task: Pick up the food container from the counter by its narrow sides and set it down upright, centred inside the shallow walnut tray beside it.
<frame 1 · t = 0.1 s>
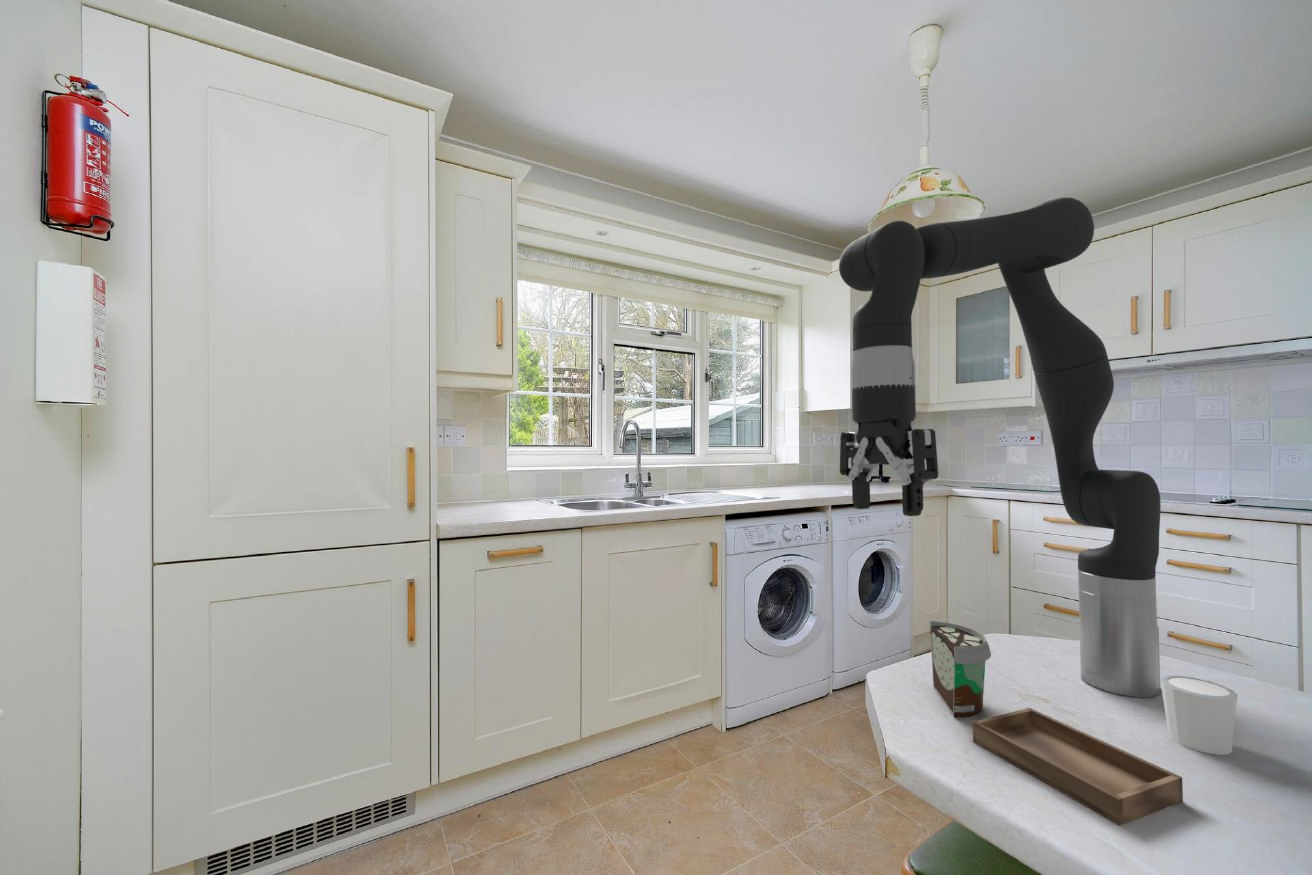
hand: (885, 511, 69), 29 cm above the table, tool pointing down, fingers open, 8 cm apart
walnut tray: (1068, 768, 63), on the table
food container: (966, 704, 79), on the table
white cup: (1199, 743, 68), on the table
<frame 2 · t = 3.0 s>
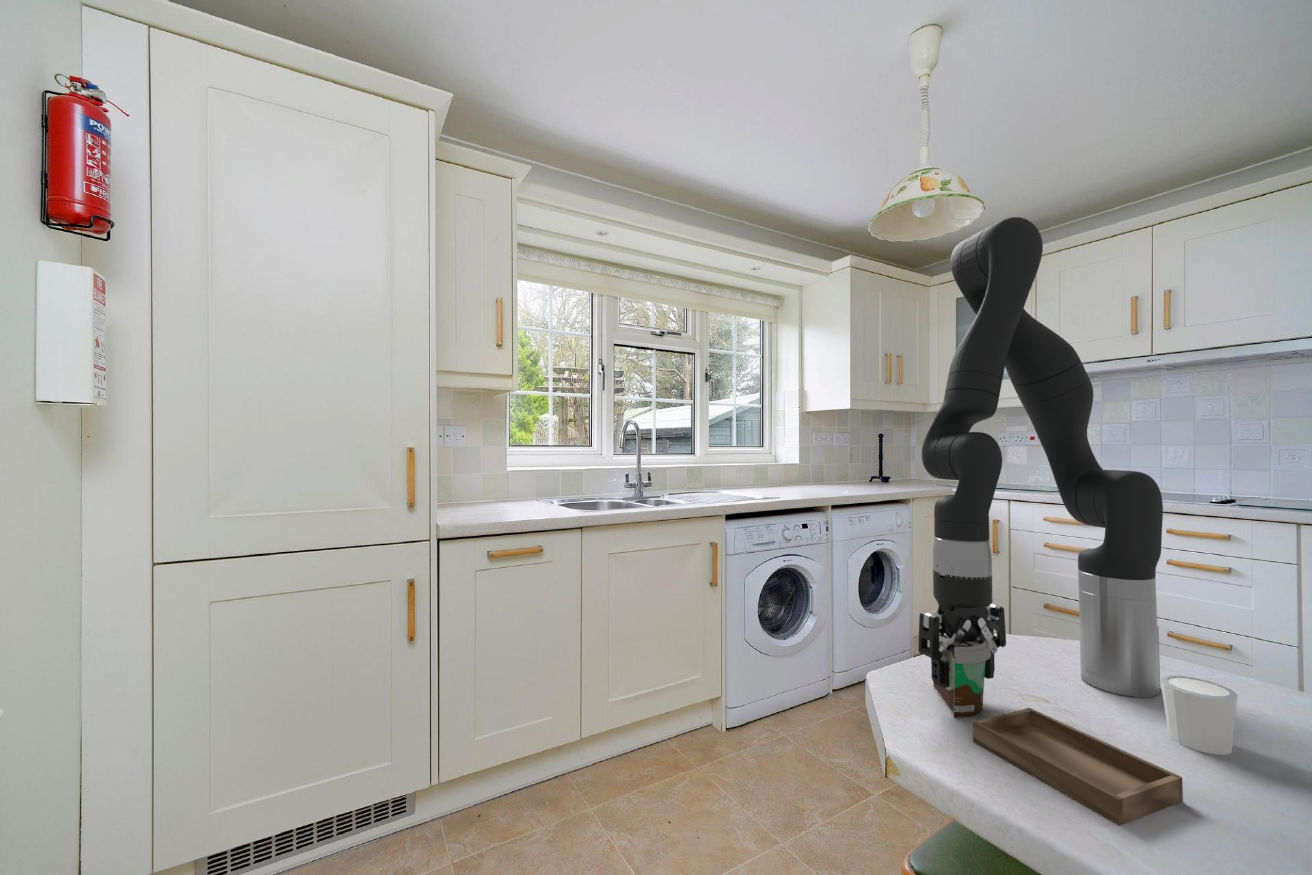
hand: (963, 681, 79), 3 cm above the table, tool pointing down, fingers open, 8 cm apart
food container: (966, 704, 79), on the table, touching gripper
everything else where it was.
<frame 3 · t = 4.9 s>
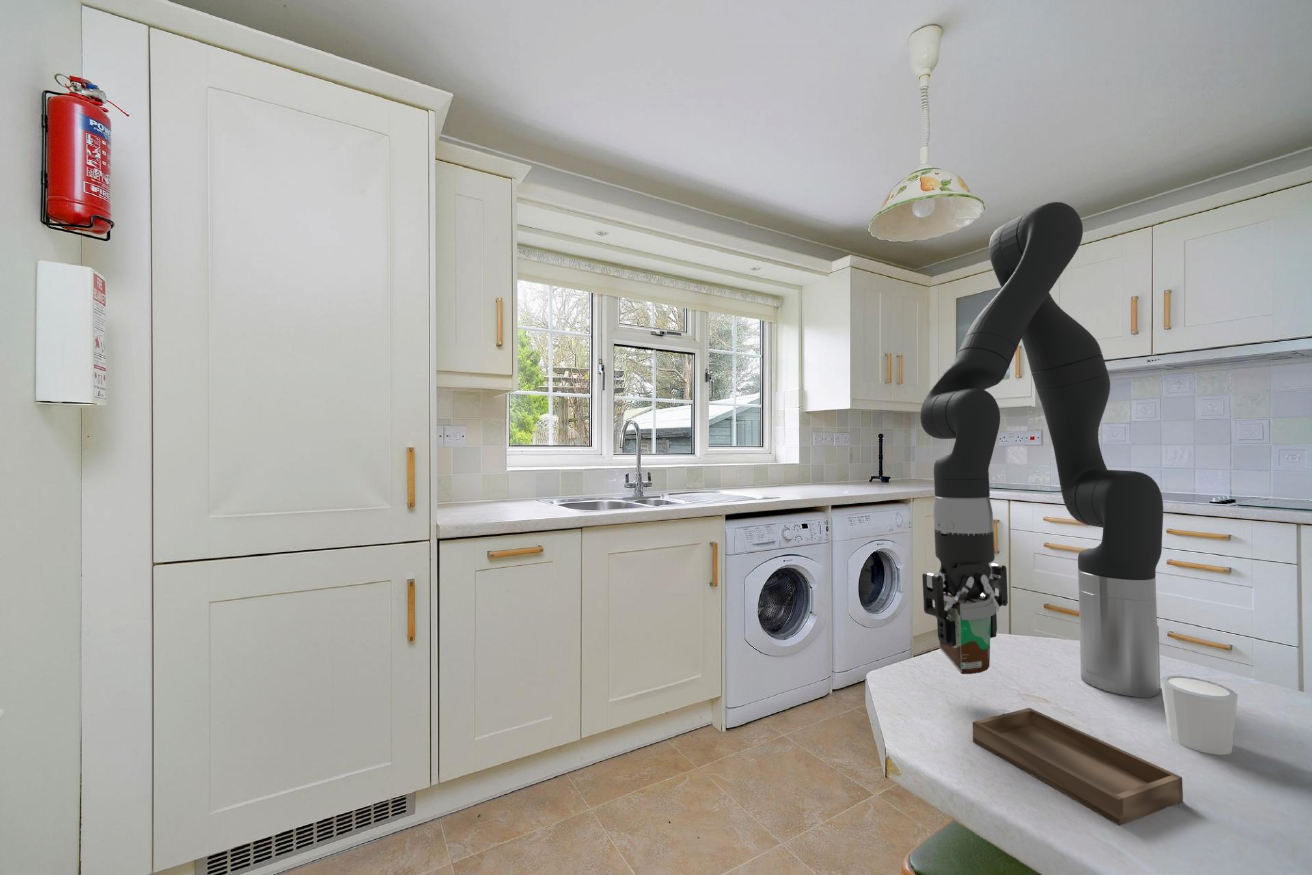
hand: (968, 640, 79), 9 cm above the table, tool pointing down, fingers closed on food container, 7 cm apart
food container: (972, 662, 79), point 6 cm above the table, touching gripper
everything else where it was.
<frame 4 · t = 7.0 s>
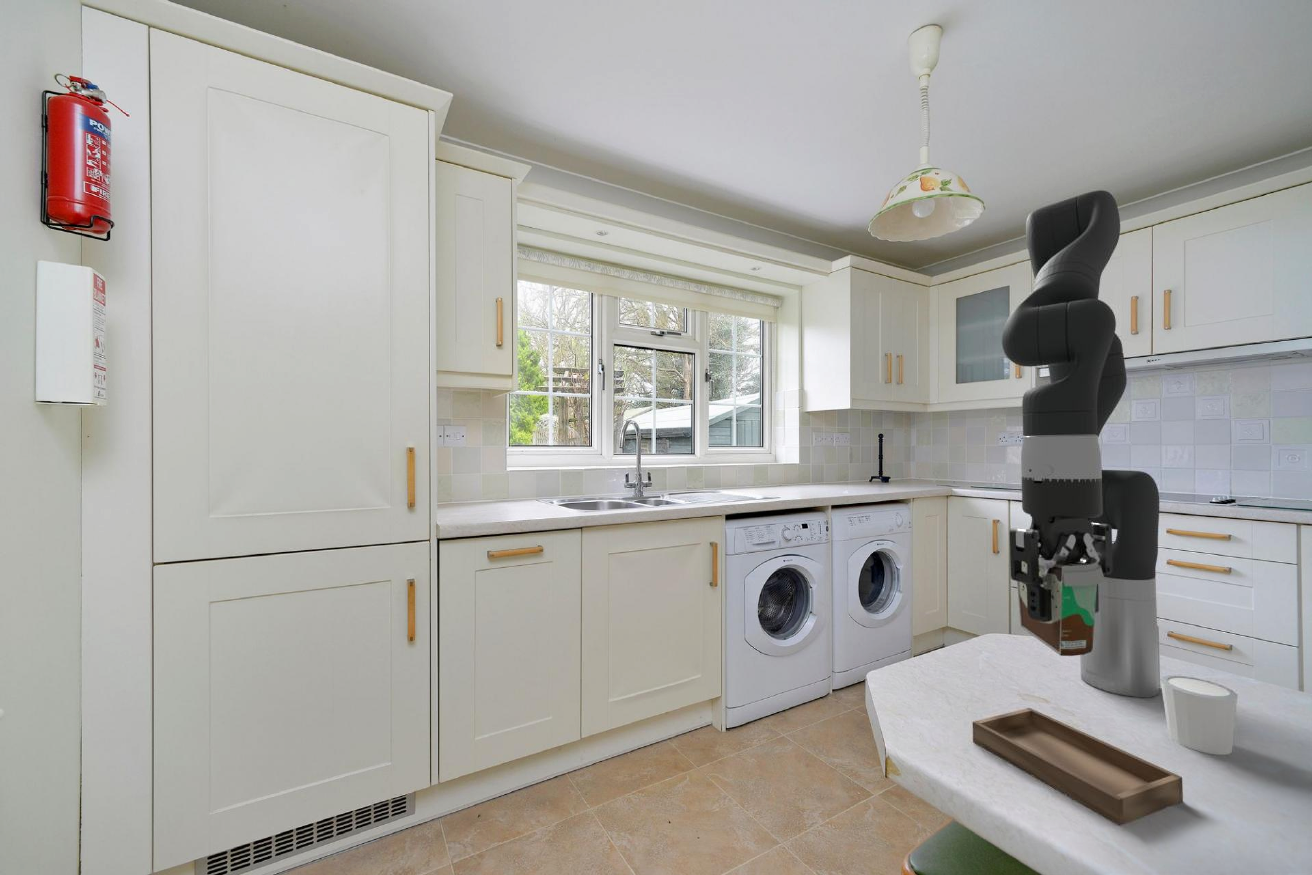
hand: (1063, 615, 63), 18 cm above the table, tool pointing down, fingers closed on food container, 7 cm apart
food container: (1068, 643, 63), point 14 cm above the table, touching gripper
everything else where it was.
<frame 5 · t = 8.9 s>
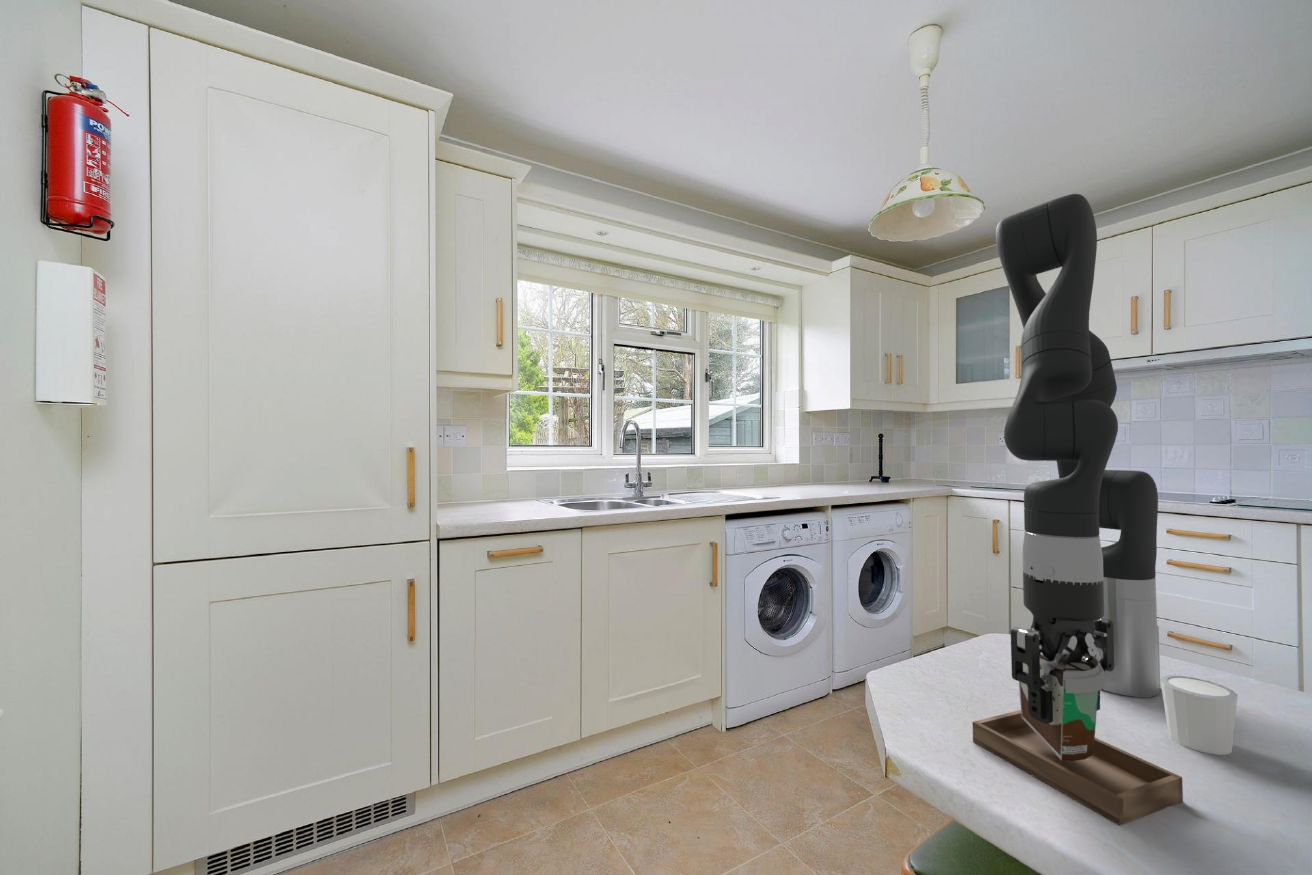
hand: (1064, 713, 63), 6 cm above the table, tool pointing down, fingers closed on food container, 7 cm apart
food container: (1069, 741, 63), point 3 cm above the table, touching gripper
everything else where it was.
when the fingers open (5 cm above the table, at t = 10.3 s): food container drops 1 cm, resting on walnut tray.
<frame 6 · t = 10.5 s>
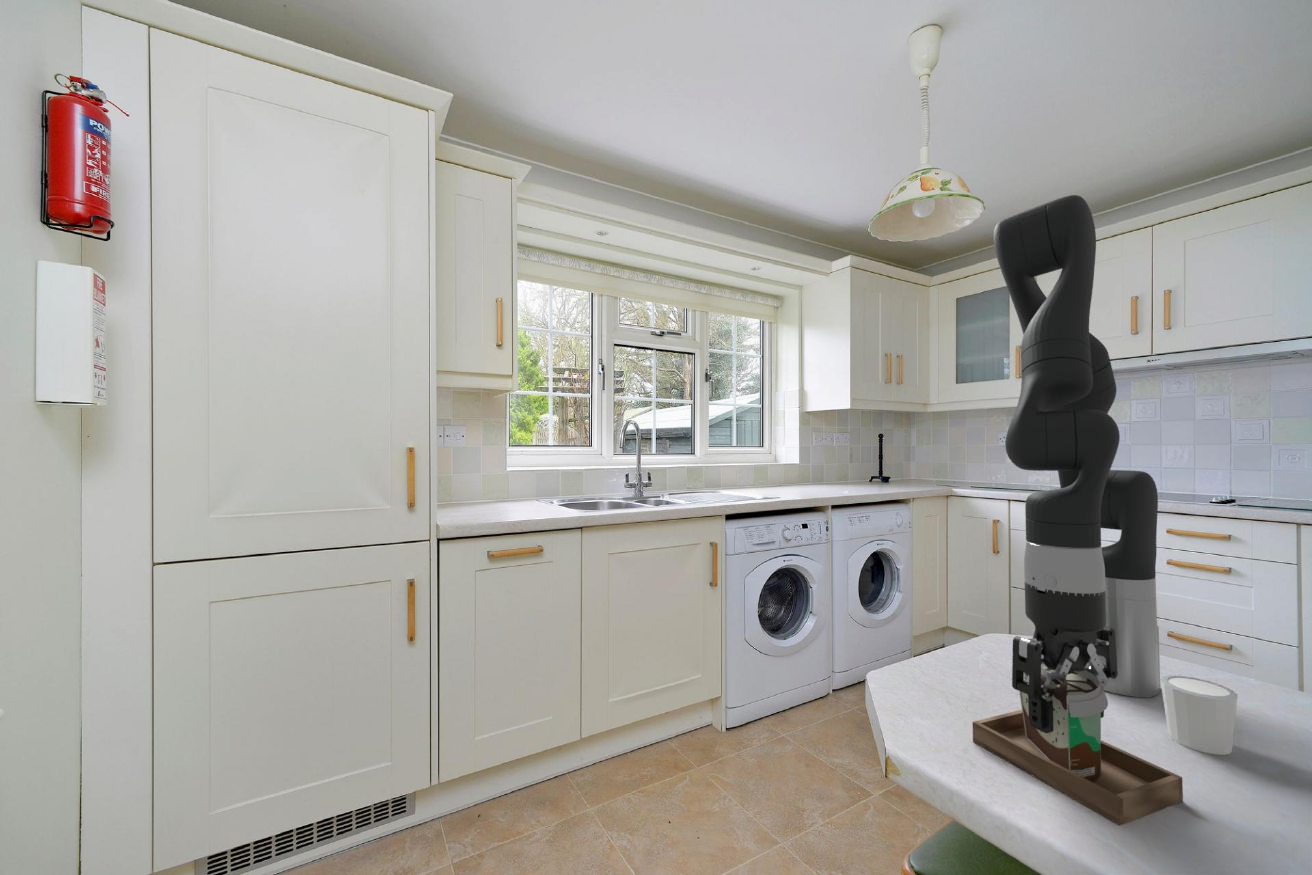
hand: (1067, 722, 63), 5 cm above the table, tool pointing down, fingers open, 8 cm apart
food container: (1076, 761, 63), point 1 cm above the table, touching gripper, walnut tray
everything else where it was.
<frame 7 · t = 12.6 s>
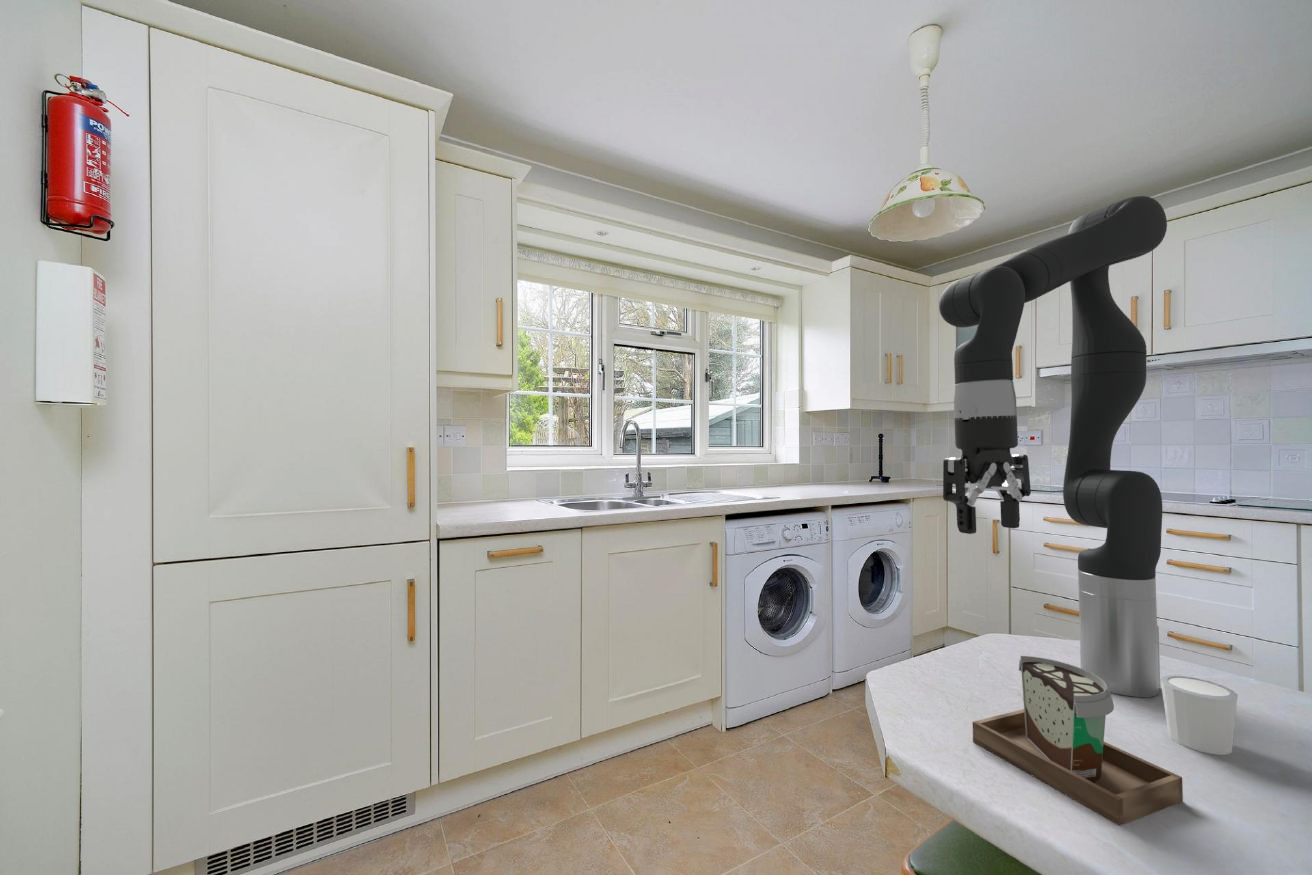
hand: (989, 530, 76), 25 cm above the table, tool pointing down, fingers open, 8 cm apart
food container: (1076, 763, 63), resting on walnut tray
everything else where it was.
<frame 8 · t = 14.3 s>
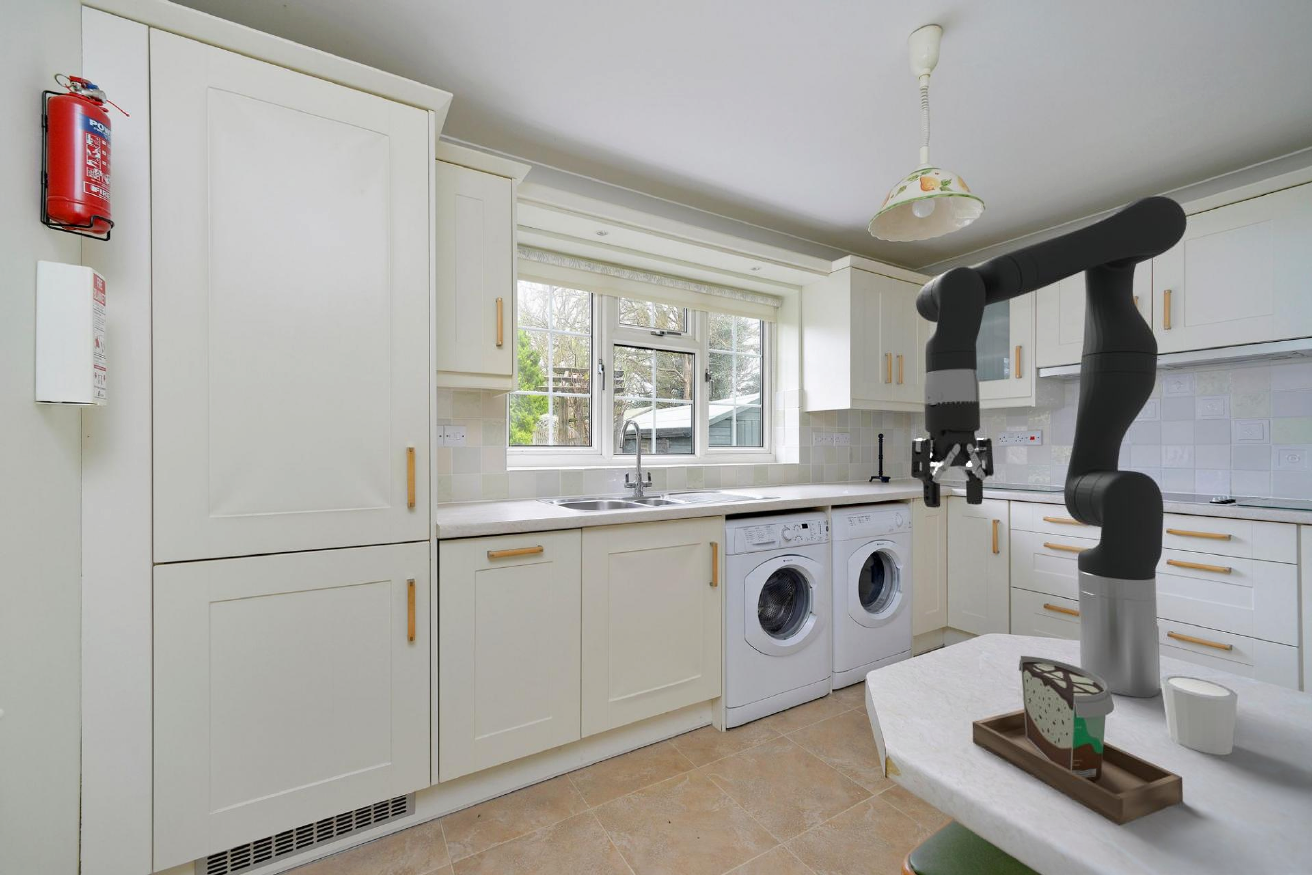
hand: (953, 505, 84), 28 cm above the table, tool pointing down, fingers open, 8 cm apart
nothing on the table moved.
at the end: food container 1.2 cm off-centre on the walnut tray, point 0.4 cm above the walnut tray's base; food container tilted 0°; the gripper is holding nothing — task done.
